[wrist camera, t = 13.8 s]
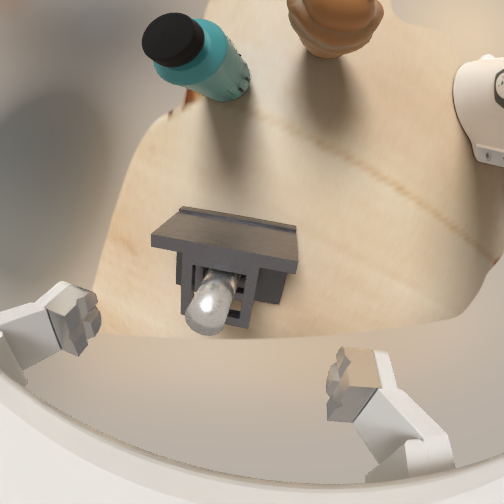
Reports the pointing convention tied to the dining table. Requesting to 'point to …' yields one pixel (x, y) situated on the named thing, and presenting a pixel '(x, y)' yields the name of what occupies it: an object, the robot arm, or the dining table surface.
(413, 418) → the robot arm
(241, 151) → the dining table surface
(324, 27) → the cat ice cream
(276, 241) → the collar stand
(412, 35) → the dining table surface
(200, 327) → the grey cylinder
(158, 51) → the beverage bottle
